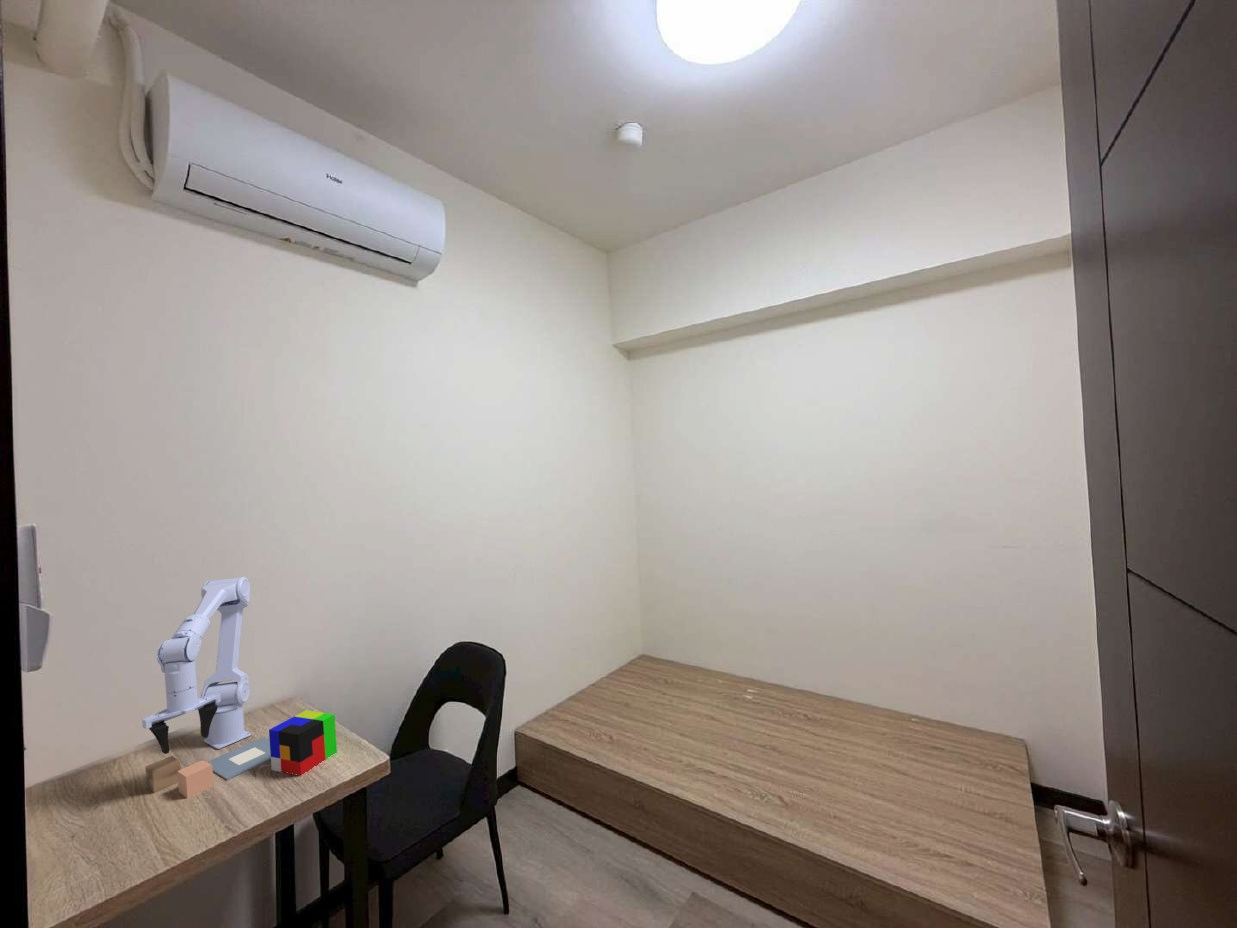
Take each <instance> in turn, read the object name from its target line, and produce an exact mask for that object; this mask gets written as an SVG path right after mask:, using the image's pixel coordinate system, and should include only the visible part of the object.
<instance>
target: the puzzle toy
mask: <svg viewBox="0 0 1237 928" xmlns="http://www.w3.org/2000/svg"><path fill="white" fill-rule="evenodd" d="M335 718H336V716H335V714H334V713H326V712H321V711H313V710H304V711H302V712H300V713H298V714H296V715H295V716H293V717H291V718H289V719H287V720H285V721H283V722H280V723H279V724H277V725H275V726H273V727H272V728H269V729H268V735H269V738H268V739H270V753H271V760H270V765H271V771H274V772H279V773H280V772H281V773H284V772H288V773H287V774H289V773H293V774H292V775H294V774H297V775H296V776H298V775H302V774H304V773H305V772H307V773H308V772H310V771H311V770H313V769H314V768H313V767H314V766H316V767H317V765H318V764H319V763H321V762H322V761H324V760H325V761H327V760H328V759H329V758H328V757H330V756H331V755H333V754H335V753H336V754H338V749H337V748H338V746H337V745H338V744H337V731H336V719H335ZM336 754H335V755H336ZM333 756H334V755H333ZM327 758H328V759H327ZM330 758H331V757H330ZM326 759H327V760H326ZM325 761H324V762H325ZM322 763H323V762H322ZM322 763H321V764H322ZM319 765H320V764H319ZM319 765H318V766H319ZM312 768H313V769H312ZM310 769H311V770H310ZM309 770H310V771H309ZM305 774H306V773H305ZM305 774H304V775H305ZM302 776H303V775H302Z"/></svg>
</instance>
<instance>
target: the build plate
mask: <svg viewBox="0 0 1237 928" xmlns="http://www.w3.org/2000/svg"><path fill="white" fill-rule="evenodd" d="M269 761H271V753H270V739H269V738H268V737H266V736H263V737H260V738H259V739H256V740H253V741H252V742H249V743H247V744H245V745H242V746H239V747H238V748H235V749H233V750H231V751H230V750H229V751H228V752H226V753H224V754H221V755H219V756H218V757H214V758H213V759H210V760H208V761H207V762H208V763H210V764H211V765H212V768H213V773H214V774H216V775H218V776H219V777H221V778H223V779H224V780H226V781H229V780H230V779H233V778H235V777H237V776H240V775H242V774H244V773H245V772H248V771H251V770H252V769H254V768H256V767H258V766H260V765H263V764H265V763H267V762H269Z"/></svg>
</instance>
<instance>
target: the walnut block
mask: <svg viewBox="0 0 1237 928" xmlns="http://www.w3.org/2000/svg"><path fill="white" fill-rule="evenodd" d="M144 768H145V783H146V788H147V789H148V790H150V792H152V793H154V794H156V793H159V792H161V791H163V790H165V789H167V788H170V787H172V786H174V785H176V784H178V773H177V771H179V770H181V761H180V760H179V759H178V758H176V757H175V756H174V755H170V756H168V757H166V758H163V759H161V760H158V761H156V762H154V763H152V764H148V765H146V766H145V767H144Z"/></svg>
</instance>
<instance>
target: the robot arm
mask: <svg viewBox="0 0 1237 928" xmlns="http://www.w3.org/2000/svg"><path fill="white" fill-rule="evenodd" d="M200 592H201V593H200V594H201V600H200V602H199V604H198V605H197V607H196V609H195V611H194V612H193V614H190V615H188V616H186V617H185V618H184V620H183V621H182V623H181V624H180V625H179V627H178V628H177V630H176V631H175V633H174V634H173V636H171V638H168V639H166V640H165V641H164V642H162V643H160V644H159V647H158V650H157V655H156V661H157V663H158V664H159V666H160V670H161V672H162V673H163V674H164V685H165V695H166V696H165V698H166V708H165V709H163V710H161V711H158V712H156V713H154V714H152V715H149V716H147V717H145V718H142V719H141V721H142V728H143V729H145V730H147V729H149V731H150V732H151V733H152V734H153V735H154V737H155V739H156V740H157V743H158V744H159V748H160V749H161V753H163V754H164V755H166V754H169V753H170V745H169V727H170V726H168V725H167V721H169V720H172V719H175V718H178V717H180V716H183V715H186V714H189V713H191V712H194V711H196V710H198V715H199V722H200V734H201V737H203V738H204V739H203V742H204V743H206V744H208V745H210V746H211V747H212V748H215V749H216V750H221V749H223V748H225V747H227V746H229V745H232V744H233V743H237V742H239V741H241V740H244V739H245V738H249V737H251V736H252V733H251V732H249V731H247V730H245V717H244V716H245V715H244V705H245V703H246V702H247V700H248V699H249V697H250V689H251V687H250V677H249V675H248V674H247V673H246V672H244V671H242V670H241V669H239V660H240V648H241V647H240V646H241V637H242V625H243V616H244V615H243V613H244V609H245V608H247V607H249V605H250V603H249V602H250V600H251V584H250V581H249V580H248V578H247V577H245V576H240V577H234V578H232V577H231V578H223V579H208V580H206V581H205V582H204V583H203V585H202V587H201V591H200ZM216 611H218V612H219V613H220V614H221V617H220V628H219V637H218V647H217V654H216V655H217V656H216V667H215V672H214V673H213V674H212V675H211V676H209V677H208V678H207V679H206V680H205V681H204V684H203V688H202V691H201V694H200V697H199V696H198V694H199V693H198V681H197V680H198V679H197V667H196V665H197V664H196V659H197V658H198V657H199V655H200V652H201V646H202V643H203V641H202V640H203V638H204V636H205V635H206V634H207V632H208V631H209V629H210V627H211V621H210V619H211V618H212V616H213V615H214V614H215V612H216ZM229 681H230V682H229ZM222 682H224V683H222Z"/></svg>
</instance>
